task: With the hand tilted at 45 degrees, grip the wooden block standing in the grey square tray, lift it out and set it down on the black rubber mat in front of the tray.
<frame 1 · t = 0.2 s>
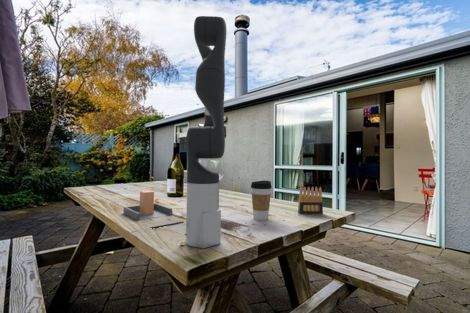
hand: (211, 144, 128), 31 cm above the table, tool tilted 20°, fingers open, 8 cm apart
block: (146, 213, 102), point 1 cm above the table, touching grey square tray
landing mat: (162, 223, 91), on the table
coffee cup: (260, 218, 100), on the table
ammunition clip: (310, 213, 110), on the table
grey square tray: (147, 216, 101), on the table
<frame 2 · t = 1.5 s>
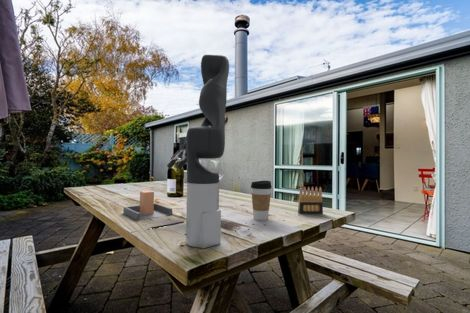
hand: (173, 167, 110), 19 cm above the table, tool tilted 45°, fingers open, 8 cm apart
nothing on the table moved.
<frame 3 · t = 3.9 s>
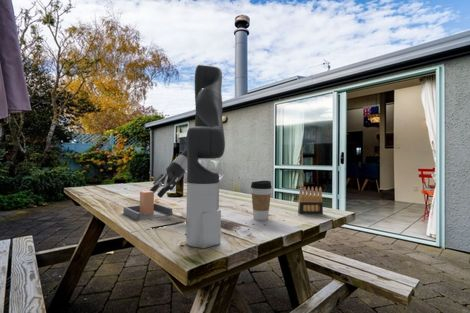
hand: (154, 195, 104), 8 cm above the table, tool tilted 45°, fingers open, 8 cm apart
nothing on the table moved.
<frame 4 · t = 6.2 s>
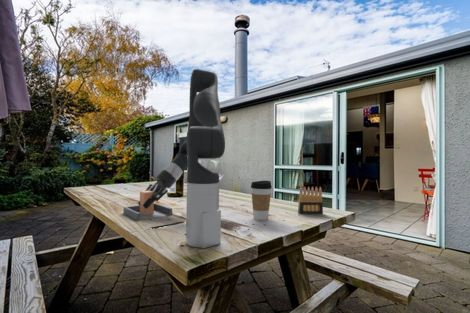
hand: (142, 206, 100), 4 cm above the table, tool tilted 45°, fingers closed on block, 4 cm apart
block: (146, 213, 102), point 1 cm above the table, touching gripper, grey square tray
everything else where it was.
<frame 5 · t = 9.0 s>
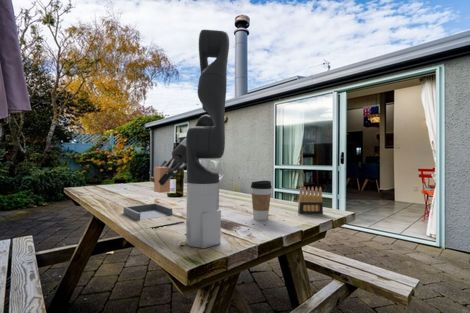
hand: (157, 182, 90), 15 cm above the table, tool tilted 45°, fingers closed on block, 4 cm apart
block: (162, 191, 91), point 12 cm above the table, touching gripper
everything else where it was.
when the fingers open (5 cm above the table, at t = 11.8 s): block drops 1 cm, resting on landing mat.
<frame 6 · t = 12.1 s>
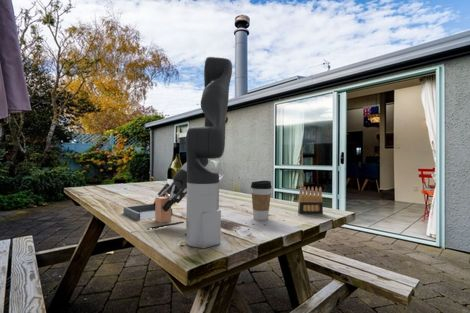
hand: (159, 208, 90), 6 cm above the table, tool tilted 45°, fingers open, 7 cm apart
block: (163, 221, 91), resting on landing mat
everything else where it was.
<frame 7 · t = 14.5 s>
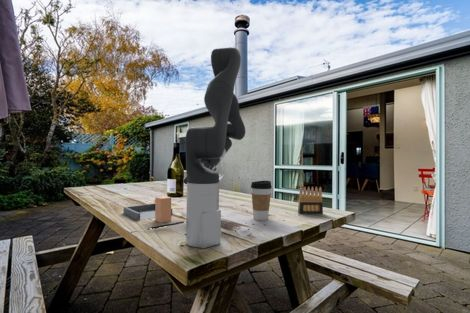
hand: (190, 184, 99), 14 cm above the table, tool tilted 45°, fingers open, 8 cm apart
nothing on the table moved.
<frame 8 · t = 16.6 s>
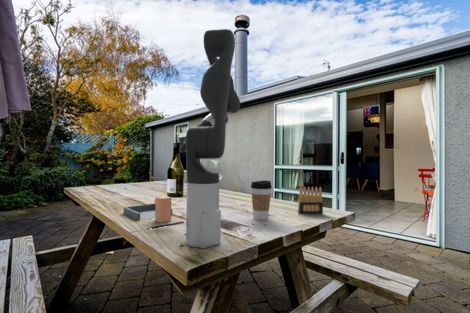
hand: (185, 151, 102), 27 cm above the table, tool tilted 45°, fingers open, 8 cm apart
nothing on the table moved.
at the end: block inside the target area (0.1 cm from its centre), point 0.5 cm above the table; block tilted 0°; the gripper is holding nothing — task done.
